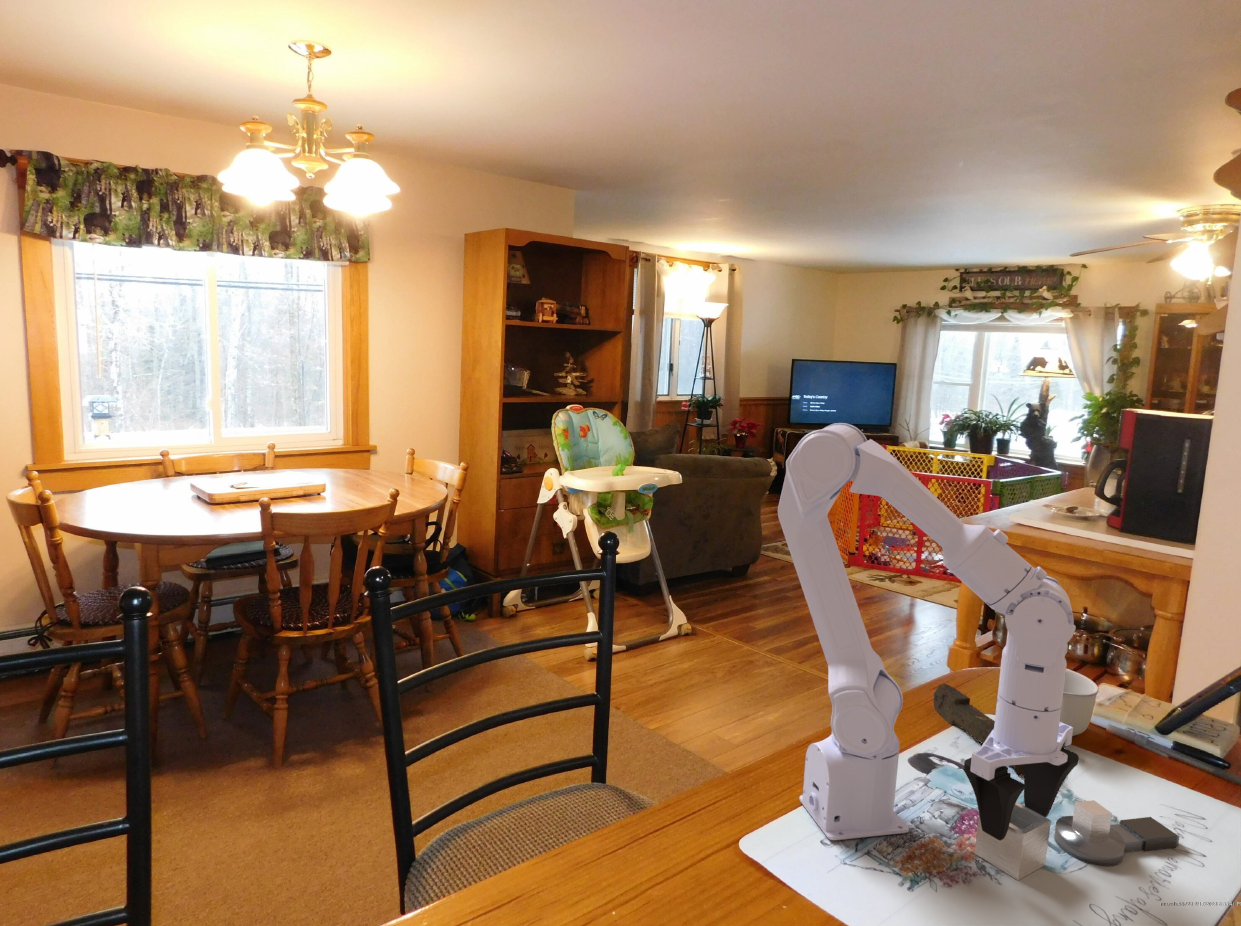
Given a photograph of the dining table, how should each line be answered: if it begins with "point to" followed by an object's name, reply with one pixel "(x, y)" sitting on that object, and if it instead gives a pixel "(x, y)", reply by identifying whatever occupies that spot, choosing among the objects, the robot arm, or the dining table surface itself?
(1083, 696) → the teacup
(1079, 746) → the dining table surface
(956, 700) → the brown wooden log
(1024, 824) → the socket
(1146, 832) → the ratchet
